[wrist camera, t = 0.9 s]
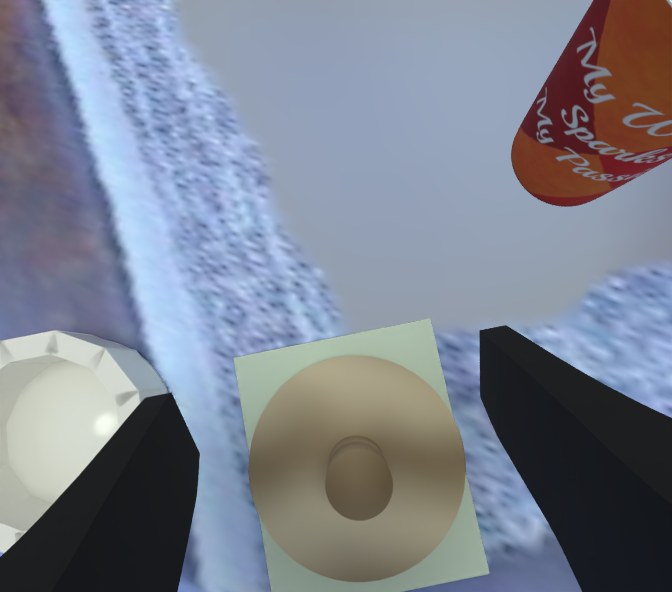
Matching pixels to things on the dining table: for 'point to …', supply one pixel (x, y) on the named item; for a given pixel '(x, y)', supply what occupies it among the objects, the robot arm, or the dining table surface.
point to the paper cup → (601, 106)
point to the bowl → (60, 415)
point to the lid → (357, 468)
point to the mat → (422, 359)
